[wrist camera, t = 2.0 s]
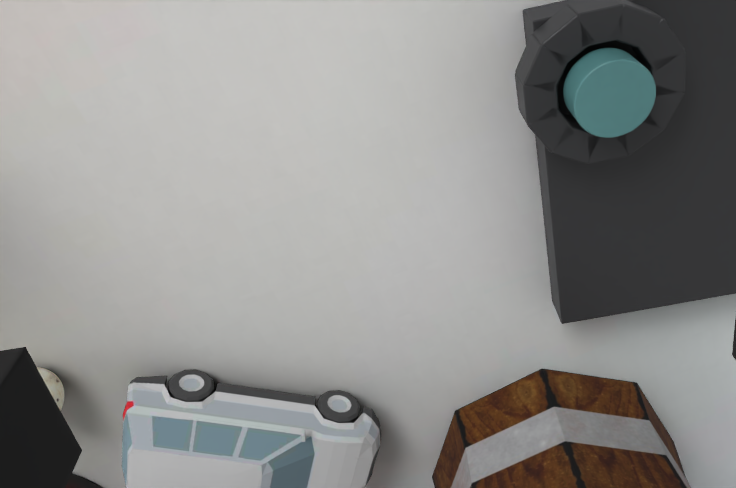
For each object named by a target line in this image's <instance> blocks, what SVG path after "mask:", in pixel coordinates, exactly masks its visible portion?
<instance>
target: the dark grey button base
mask: <svg viewBox="0 0 736 488" xmlns="http://www.w3.org/2000/svg"><path fill="white" fill-rule="evenodd" d="M523 19H524V29H525V38H526V48H525V50H524V53H523V55H522V57H521V60H520V62H519V64H518V67H517V69H516V73H515V79H516V88H517V97H518V106H519V110H520V113H521V114H522V116H523V118H524V120H525V122H526V123H527V125H528V127H529V128H530V129H531V130H532V131H533V133H534V134H535V136H536V146H537V156H538V166H539V176H540V185H541V195H542V205H543V215H544V225H545V234H546V244H547V254H548V264H549V274H550V283H551V293H552V301H553V304H554V306H555V308H556V311H557V313H558V316H559V318H560V321H561V323H562V324H564V323H569V322H575V321H581V320H587V319H592V318H598V317H604V316H609V315H615V314H621V313H627V312H632V311H638V310H644V309H649V308H655V307H661V306H667V305H672V304H678V303H684V302H689V301H695V300H701V299H706V298H712V297H718V296H724V295H729V294H735V293H736V0H565V1H560V2H556V3H551V4H547V5H542V6H537V7H533V8H528V9H524V10H523ZM600 48H617V49H621V50H623V51H626V52H627V53H629V54H630V55H631V56H633V57H634V58H635V59H636V60H637V61H639V62H640V63H641V64H642V65H643V66H645V67H646V68H647V69H648V70H649V72H650V73H651V74H652V76H653V78H654V81H655V85H656V98H655V102H654V105H653V108H652V110H651V112H650V114H649V115H648V117H647V118H646V119H645V120H644V121H643V122H642V124H641V125H639V126H638V127H637V128H636V129H634V130H632V131H631V132H629V133H627V134H624V135H622V136H618V137H612V138H604V137H598V136H594V135H592V134H590V133H588V132H587V131H585V130H584V129H583V128H582V127H581V126H580V125H579V123H578V122H577V120H576V119H575V118H574V116H573V115H572V114H571V112H570V111H569V110H568V108H567V106H566V104H565V101H564V96H563V88H564V83H565V79H566V77H567V74H568V72H569V71H570V69H571V68H572V66H573V65H574V64H575V63H576V62H577V61H578V60H579V59H580V58H581V57H583V56H584V55H586V54H587V53H589V52H591V51H594V50H597V49H600Z"/></svg>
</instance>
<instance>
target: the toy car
mask: <svg viewBox="0 0 736 488" xmlns="http://www.w3.org/2000/svg"><path fill="white" fill-rule="evenodd" d="M166 385H167V376H154V377H137V378H135V379H134V380H132V381H131V382H130V384H129V385H128V395H127V401H126V406H125V409H124V412H123V439H122V468H123V473H124V478H125V483H126V488H364V487H365V485H366V484H367V483H368V481H369V479H370V477H371V475H372V471H373V467H374V464H375V460H376V457H377V454H378V450H379V447H380V442H381V429H380V424H379V420H378V418H377V417H376V415H375V413H374V411H373V410H372V409H370V408H367V407H363V411H362V415H361V416H360V417H359V413H360V406H359V403H358V401H357V400H356V399H355V398H354V397H353V396H352V395H350V394H349V393H346V392H343V391H340V390H338V391H328V392H326V393H324V394H322V395H321V396H320V398H319V400H318V402H317V406H316V407H315V397H313V396H306V395H299V394H292V393H285V392H278V391H271V390H264V389H257V388H250V387H243V386H236V385H229V384H222V383H218V384H217V388H216V391H215V392H214V383H213V380H212V379H211V378H210V377H209V376H208V375H207V374H206V373H204V372H201V371H198V370H184V371H182V372H179V373H177V374H175V375H174V376H173V377H172V378H171V380H170V381H169V385H168V391H167V389H166ZM358 417H359V418H358Z"/></svg>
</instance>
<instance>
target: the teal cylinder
mask: <svg viewBox="0 0 736 488" xmlns="http://www.w3.org/2000/svg"><path fill="white" fill-rule="evenodd" d="M563 96H564V101H565V104H566V106H567V108H568V110H569V111H570V112H571V114H572V115H573V116H574V118H575V119H576V120H577V122H578V123H579V125H580V126H581V127H582V128H583V129H584V130H585V131H587V132H588V133H590V134H592V135H594V136H598V137H604V138H612V137H618V136H622V135H624V134H627V133H629V132H631V131H632V130H634V129H636V128H637V127H638V126H639V125H641V124H642V122H643V121H644V120H645V119H646V118H647V117H648V115H649V114H650V112H651V110H652V108H653V105H654V102H655V98H656V85H655V81H654V78H653V76H652V74H651V73H650V72H649V70H648V69H647V68H646V67H645V66H643V65H642V64H641V63H640V62H639V61H637V60H636V59H635V58H634V57H633V56H631V55H630V54H629V53H627V52H626V51H623V50H621V49H617V48H600V49H597V50H594V51H591V52H589V53H587V54H586V55H584V56H583V57H581V58H580V59H579V60H578V61H577V62H576V63H575V64H574V65H573V66H572V68H571V69H570V71H569V72H568V74H567V77H566V79H565V83H564V88H563Z"/></svg>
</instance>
